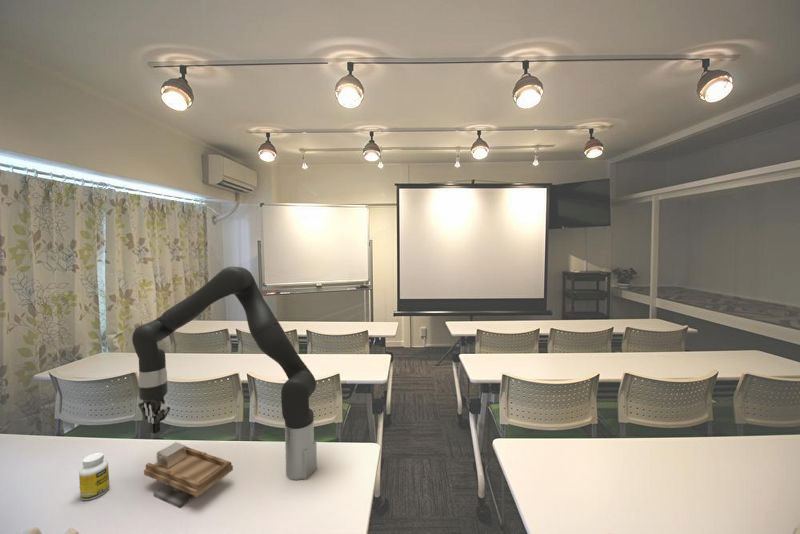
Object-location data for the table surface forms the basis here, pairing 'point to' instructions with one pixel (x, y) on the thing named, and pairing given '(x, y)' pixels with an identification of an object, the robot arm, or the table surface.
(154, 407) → the robot arm
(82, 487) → the pill bottle
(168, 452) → the block
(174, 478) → the wooden tray
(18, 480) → the table surface
